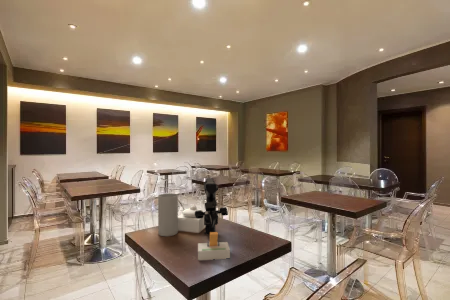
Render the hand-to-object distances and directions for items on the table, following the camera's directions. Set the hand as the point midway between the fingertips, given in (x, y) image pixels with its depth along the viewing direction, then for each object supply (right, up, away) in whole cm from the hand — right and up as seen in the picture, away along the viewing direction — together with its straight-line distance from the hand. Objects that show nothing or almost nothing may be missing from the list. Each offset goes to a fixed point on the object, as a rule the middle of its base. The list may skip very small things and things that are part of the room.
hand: (211, 227), depth 134 cm
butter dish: (-16, -12, +34) cm, 40 cm away
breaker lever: (+1, -7, -8) cm, 10 cm away
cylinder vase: (-30, -11, +23) cm, 39 cm away
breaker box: (+1, -12, -9) cm, 15 cm away
